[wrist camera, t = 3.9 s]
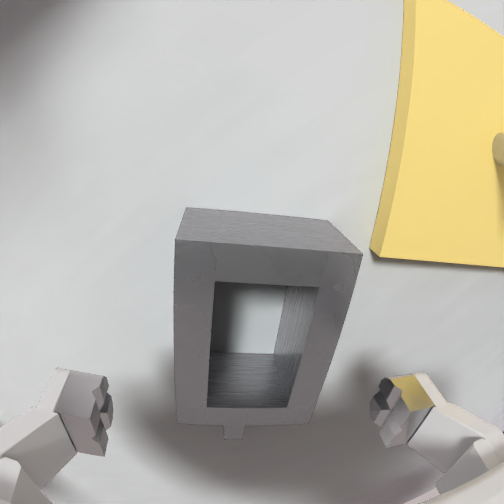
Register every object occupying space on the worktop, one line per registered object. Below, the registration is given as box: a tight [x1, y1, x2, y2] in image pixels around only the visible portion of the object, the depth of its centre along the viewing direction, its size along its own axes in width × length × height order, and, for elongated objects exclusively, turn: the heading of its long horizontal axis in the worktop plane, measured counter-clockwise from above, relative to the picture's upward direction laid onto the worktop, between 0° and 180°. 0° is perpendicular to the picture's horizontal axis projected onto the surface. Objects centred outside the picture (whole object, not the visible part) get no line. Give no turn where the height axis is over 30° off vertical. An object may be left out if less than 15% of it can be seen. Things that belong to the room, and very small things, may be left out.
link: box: [174, 208, 363, 440], centre depth 13 cm, size 12×6×4 cm, turn 173°
